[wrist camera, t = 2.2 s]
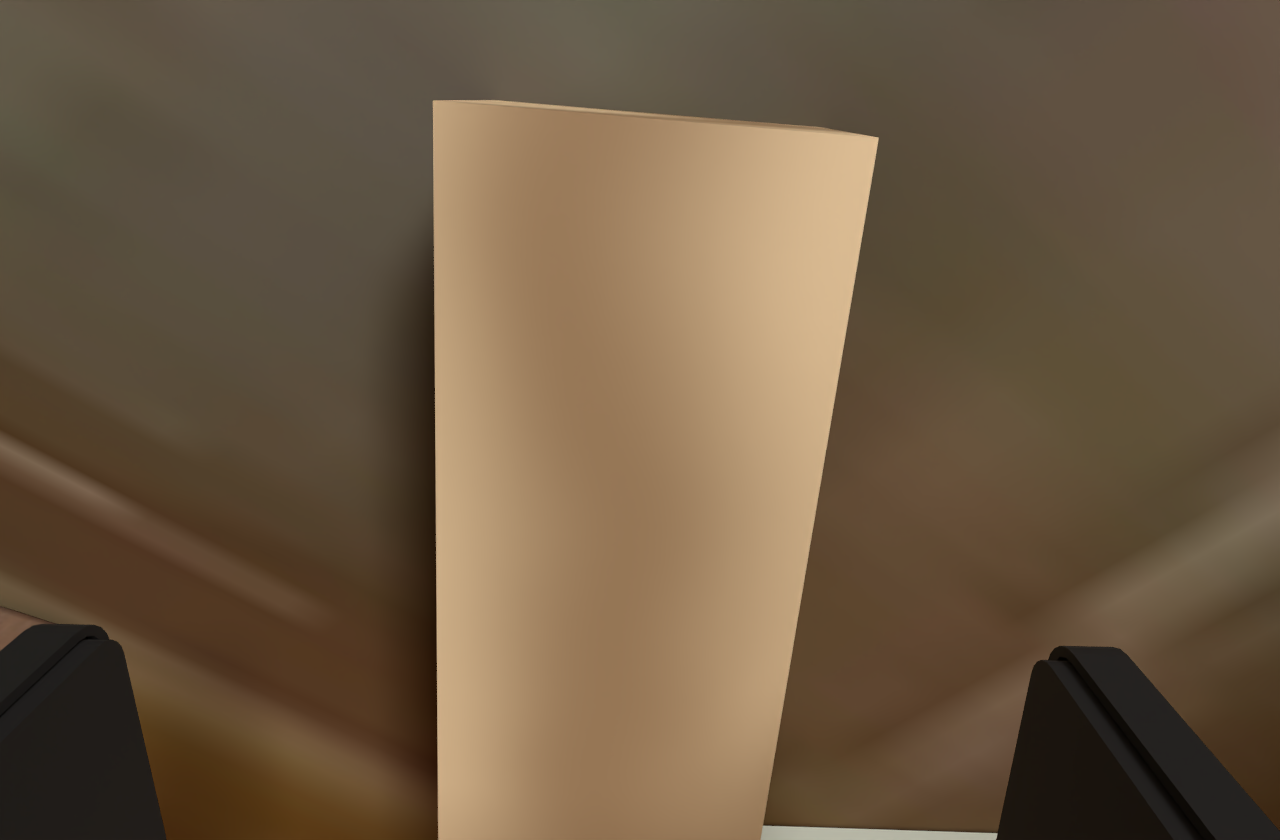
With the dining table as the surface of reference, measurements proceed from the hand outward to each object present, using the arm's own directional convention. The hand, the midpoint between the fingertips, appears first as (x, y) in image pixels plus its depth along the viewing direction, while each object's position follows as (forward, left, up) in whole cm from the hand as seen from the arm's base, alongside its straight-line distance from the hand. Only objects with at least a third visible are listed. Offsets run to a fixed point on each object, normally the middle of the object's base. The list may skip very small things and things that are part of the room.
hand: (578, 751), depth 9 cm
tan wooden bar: (0, 0, -7) cm, 7 cm away
